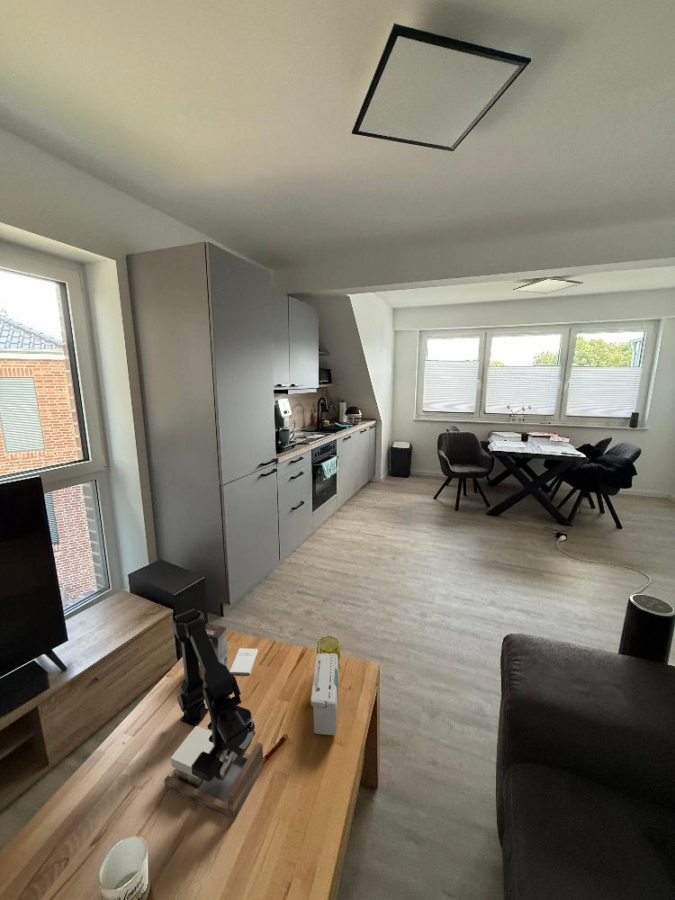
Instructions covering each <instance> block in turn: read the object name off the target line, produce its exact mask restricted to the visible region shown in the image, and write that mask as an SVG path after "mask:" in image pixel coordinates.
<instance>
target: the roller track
mask: <svg viewBox="0 0 675 900" xmlns="http://www.w3.org/2000/svg"><path fill="white" fill-rule="evenodd" d="M224 751H225V750H223V752H224ZM263 751H264V749H263V744H262V743H261V742H258V741H257V742H256V744H255V746H254V748H253V749H252V751H251V753H249V754H248V753H246V752H245V754H244V755H243V756H242V757H239V756H238V757H237V758H236V760H235V762H234V763H233V765H232V767H231V768H230V770H229V771H228V773H227V775H226V776H225V778H224V779H223V780H218V779H217V778H215V776H214V778H213V779H212V781H209V782H208V781H205V780H203V779H201V778H199V777H198V779H197V778H195V777H193V776H191V775H189V774H187V773H185V772H182V771H180V770H178V769H176V768H174V773H173V774H172V775H171V776H170V775H167V776H166V777H165V778H164V784H165V785H164V787H165V788H167V789H168V790H170V791H173V792H175V793H177V794H179V795H181V796H183V797H184V798H187V799H189V800H191V801H193V802H195V803H197V804H199V805H201V806H203V807H205V808H207V809H210V810H211V811H212V812H213V811H214V812H215V813H217V814H219V815H221V816H223V817H225V818H227V819H229V820H232V821H233V822H235V821H236V819H237V817H238V815H239V813H240V812H241V810H242V808H243V806H244V804H245V802H246V800H247V799H248V797H249V795H250V793H251V791H252V790H253V787H254V785H255V784H256V782H257V780H258V778H259V775H261V772H262V770H263V768H264V752H263ZM223 752H222V753H221V755H222V754H223ZM221 755H220V756H219V757H221Z"/></svg>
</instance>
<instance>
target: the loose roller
mask: <svg viewBox="0 0 675 900" xmlns="http://www.w3.org/2000/svg"><path fill="white" fill-rule="evenodd" d="M237 757H238V755H237V754H236V753H234V752H233V751H232V750H230V749H227V751H226V750H225V751H224V752H223V754H222V755H221V757H220V761H222V762H224V763H223V765H222V766H221V768H220V777H219V778H217V779H218V780H223V779H224V778H225V776H226V775H227V773H228V771H229V770H230V768H231V767H232V765H233V763H234V762H235V760H236V758H237ZM215 778H216V777H215Z"/></svg>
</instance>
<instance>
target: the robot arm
mask: <svg viewBox="0 0 675 900" xmlns="http://www.w3.org/2000/svg"><path fill="white" fill-rule="evenodd" d="M205 625H206V622H205V618H204V612H202V611H201V610H196V608H192V609H190V610H187V611H185V612H183V613H181V614H178V615H176V616H174V617H173V618H172V621H171V630H172V632H173V634H174V635H175V636H176V638H177V639H178V641H179V642H180V643H181V653H182V662H183V672H184V679H183V681H182V682H181V684H180V688H179V689H180V694H178V695H177V697H176V699H177V703H178V705H179V708H180V710H181V712H182V713H183V716H182V717H181V718H180V722H181V723H185V724H187V725H189V726H192V727H193V728H195V727H196V726H198V725H199V723H200V722H201V721H202V720H203V719H204V717H205V716H206V715H207V714H208V713H209V716H210V722H209V723H208V724H207V730H209V731H211V732H212V734H211V736H210V737H209V742H212V743H213V745H214V746H215V747H214V748H213V750H212V751H211V752H210V754H208V753H206V752H204V751H203V752H201V753H200V754H199V756H198V757H197V759H196V760H195V761H194V763H193V764H192V765H191V767H192V774H193V775H195V776H197V777H199V778H201V779H203V780H205V781H208V782H209V781H212V779H213V778H214V776H215V777H216V778H219V777H220V768H221V766H222V765H223V763H224V762H222V761H220V757H219V756H220V755H221V753H222V752H223V750H226V751H227V749H230V750H232V751H233V752H234V753H236V754H237V755H238V756H239V757H242V756H243V755H244V754H245V753H246V752H247V750H248V749H249V747H250V745H251V743H252V740H253V738H254V736H255V734H256V731H255V729H256V726H255V721H254V720H252V719H253V717H252V712H251V710H250V709H249V708H245V707H243V706H240V704H241V703H242V700H241V696H240V695H241V694H242V693H241V690H240V687H239V684H238V680H237V679H236V676H235V674H230V672H229V671H230V669H229V668H228V666H227V665H226V666H225V665H223V664H222V663H220V662H219V660H218V658H217V656H216V653H215V651H214V648H213V646H212V644H211V641H210V639H209V637H208V634H207V632H206V626H205ZM200 666H201V668H202V669H200ZM201 670H202V672H203V675H202V674H201ZM232 694H234V696H232V697H231V695H232Z"/></svg>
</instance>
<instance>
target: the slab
mask: <svg viewBox="0 0 675 900" xmlns="http://www.w3.org/2000/svg"><path fill="white" fill-rule="evenodd" d="M211 734H212V730H209V729H205V728H203V727H200V726H198V725H197V726H196V727H193V729H192V731H191V732H190V733H189V734H188V735H187V737H186V738H185V739H184V741H182V743H181V744H180V745H179V746H178V748H177V749H176V750H175V752H174V753H173V755H172V756H171V757H170V761H171V763H170V764H171V767H172V768H174V769H178V770H180V771H182V772H185V773H187V774H189V775H191V776H193V777H195V778H197V779H198V777H197V776H195V775H193V774H192V767H191V765H192V764H193V763H194V761H195V760H196V759H197V757H198V756H199V754H200V753H201V752H203V751H204V752H206V753H208V754H210V752H211V751H212V750H213V748H214V747H215V746H214V745H213V743H212V742H209V737H210V736H211Z"/></svg>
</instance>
